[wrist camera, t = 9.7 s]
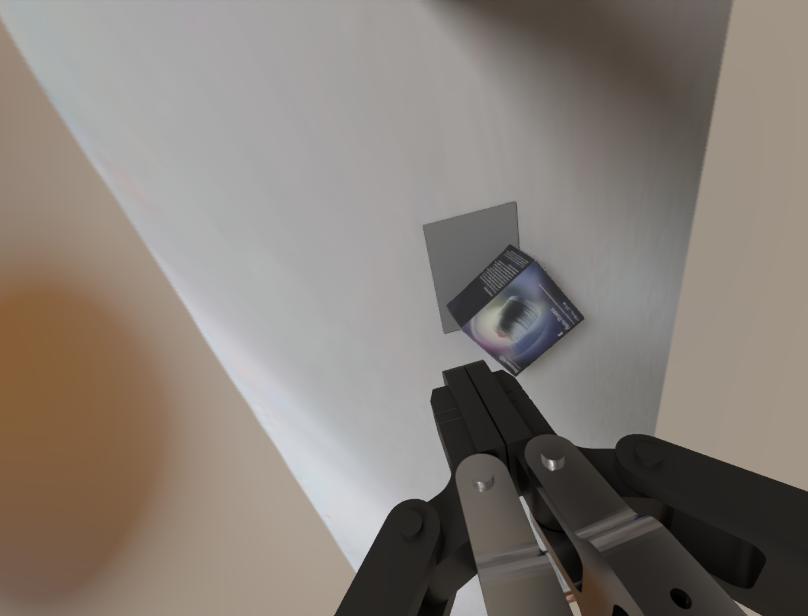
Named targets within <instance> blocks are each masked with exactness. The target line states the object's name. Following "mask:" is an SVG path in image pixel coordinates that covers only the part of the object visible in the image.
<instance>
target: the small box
mask: <svg viewBox="0 0 808 616" xmlns="http://www.w3.org/2000/svg"><path fill="white" fill-rule="evenodd" d="M446 308H447V309H448V311H449V312H450V314H451V315H452V317H453V318H454V319H455V321H456V322H457V324H458V325H459V327H460V328H461V330H462V331H463V332H464V333H466V334H467V335H468V336H469V337H470V338H471V339H472V340H474V341H475V342H476V343H477V344H478V345H479V346H480V347H482V348H483V349H484V350H485V351H486V352H487V353H488V354H490V355H491V356H492V357H493V358H494V359H495V360H496V361H498V362H499V363H500V364H501V365H502V366H503V367H505V368H506V369H507V370H508V371H509V372H510V373H511V374H512V375H514V376H515V377H516V376H517V375H518V374H519V373H521V372H522V371H523V370H524V369H525V368H526V367H528V366H529V365H530V364H531V363H532V362H534V361H535V360H536V359H537V358H538V357H539V356H541V355H542V354H543V353H544V352H545V351H547V350H548V349H549V348H550V347H551V346H552V345H554V344H555V343H556V342H557V341H558V340H560V339H561V338H562V337H563V336H564V335H565V334H567V333H568V332H569V331H570V330H571V329H573V328H574V327H575V326H576V325H577V324H579V323H580V322H581V321H582V320H583V319H585V318H584V316H583V315H582V314H581V313H580V312H579V311H578V309H577V308H576V307H575V306H574V305H573V304H572V303H571V301H570V300H569V299H568V298H567V297H566V295H565V294H564V293H563V292H562V291H561V290H560V288H559V287H558V286H557V285H556V284H555V282H554V281H553V280H552V279H551V278H550V277H549V275H548V274H547V273H546V272H545V271H544V270H543V268H542V267H541V266H540V265H539V264H538V262H537V261H536V260H535V259H533V258H531V257H530V256H528V255H527V254H525V253H524V252H522V251H520V250H519V249H517V248H516V247H514V246H513V245H511V244H509V245H508V246H507V247H506V249H505V250H504V251H503V252H502V253H501V254H500V255H499V256H498V257H497V258H496V259H495V260H493V261H492V262H491V263H490V264H489V266H488V267H486V268H485V269H484V270H483V271H482V272H481V273H480V274H479V275H478V276H477V277H476V278H475V279H474V280H473V281H472V282H471V283H470V284H469V285H468V286H467V287H466V288H465V289H463V291H462V292H460V293H459V294H458V295H457V296H456V297H455V298H454V299H453V300H452V301H450V302H449V303H448V304H447V305H446Z"/></svg>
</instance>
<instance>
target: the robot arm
mask: <svg viewBox="0 0 808 616" xmlns="http://www.w3.org/2000/svg"><path fill="white" fill-rule="evenodd" d="M442 374H443V379H444V384H445V386H443V387H440V388H436V389H433V391H432V396H431V401H430V402H431V406H432V410H433V414H434V418H435V422H436V426H437V430H438V434H439V437H440V440H441V443H442V446H443V449H444V452H445V455H446V459H447V462H448V465H449V468H450V471H451V478H450V480H449V483H448V484H447V486H446V487H445V489H444V490H443V491H442V492H441V493H439V494H438V495H437V496H435V497H434V498H433V499H431V500H430V501H428V502H426V501H424V500H420V499H409V500H405V501H403V502H401V503H399V504H398V505H396V506H395V507H394V508H393V509H392V510H391V512H390V513H389V515H388V516H387V518H386V520H385V522H384V524H383V526H382V527H381V529H380V531H379V533H378V535H377V537H376V539H375V540H374V542H373V544H372V546H371V548H370V550H369V552H368V554H367V555H366V557H365V559H364V561H363V563H362V565H361V567H360V568H359V570H358V572H357V574H356V576H355V578H354V580H353V582H352V584H351V586H350V587H349V589H348V591H347V593H346V595H345V596H344V598H343V600H342V602H341V604H340V606H339V608H338V609H337V612H336V613H335V615H334V616H450V613H451V609H452V606H453V603H454V600H455V597H456V593H457V591H458V590H459V589H460V588H461V587H462V586H464V585H465V584H466V583H467V582H468V581H469V580H471V579H472V578H473V577H474V576H475V575H476V574H478V577H479V581H480V585H481V590H482V594H483V598H484V602H485V606H486V610H487V614H488V616H574V615H573V613H572V611H571V608H570V606H569V603H568V601H567V599H566V596H565V594H564V592H563V589H562V587H561V584H560V582H559V580H558V577H557V575H556V573H555V570H554V568H553V566H552V564H551V562H550V560H549V558H548V556H547V555H546V553H545V552H543V551H542V550H541V549H540V547H539V545H538V543H537V540H536V538H535V535H534V533H533V531H532V528H531V526H530V523H529V521H528V518H527V516H526V513H525V511H524V508H523V506H522V504H521V501H520V499H519V497H520V496H523V497H524V499H525V501H526V503H527V505H528V507H529V513H530V519H531V522H532V524H533V526H534V528H535V530H536V531H537V533H538V535H539V536H540V538H541V540H542V542H543V543H544V545H545V547H546V549H547V550H548V552H549V554H550V555H551V557H552V559H553V561H554V562H555V564H556V566H557V568H558V569H559V571H560V573H561V574H562V576H563V578H564V580H565V581H566V583H567V585H568V586H569V588H570V590H571V592H572V593H573V595H574V597H575V599H576V601H577V604H578V606H579V609H580V612H581V615H582V616H747V615H746V614H745V613H744V611H743V610H742V609H741V608H740V607H739V606H738V605H737V604H736V603H735V602H734V601H733V600H735V601H737V602H738V603H740V604H742V605H744V606H746V607H747V608H749V609H751V610H753V611H755V612H756V613H759V614H760V615H762V616H808V492H807V491H805V490H802V489H799V488H796V487H793V486H790V485H788V484H785V483H782V482H779V481H776V480H774V479H771V478H768V477H765V476H762V475H759V474H757V473H754V472H751V471H748V470H745V469H743V468H740V467H737V466H734V465H731V464H729V463H726V462H723V461H720V460H717V459H715V458H711V457H709V456H706V455H703V454H701V453H698V452H695V451H692V450H689V449H686V448H683V447H681V446H678V445H675V444H672V443H669V442H667V441H664V440H661V439H658V438H655V437H652V436H649V435H643V434H632V435H627V436H625V437H623V438H621V439H620V440H619V441H618V443H617V444H616V448H615V449H591V448H582V447H578V446H575V445H574V444H573V443H571V442H570V441H569V440H567V439H565V438H563V437H560V436H558V435H557V434H556V433H555V432H554V431H553V429H552V428H551V426H550V425H549V424H548V422H547V421H546V420H545V418H544V417H543V415H542V414H541V413H540V411H539V410H538V409H537V407H536V406H535V405H534V403H533V402H532V400H531V399H529V396H528V395H527V394H526V392H525V391H524V390H523V389H522V387H521V385H520V384H519V383H518V381H517V380H516V379H515V377H513V376H512V375H510V374H508V373H507V372H505V371H503V370H499V371H496V372H491V370H490V369H489V367H488V366H487V364H486V363H485V361H484V360H480V361H477V362H473V363H470V364H466V365H463V366H459V367H456V368H452V369H449V370H445V371H442ZM732 599H733V600H732Z"/></svg>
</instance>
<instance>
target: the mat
mask: <svg viewBox="0 0 808 616" xmlns="http://www.w3.org/2000/svg"><path fill="white" fill-rule="evenodd" d="M423 230H424V235H425V240H426V245H427V250H428V255H429V260H430V265H431V270H432V275H433V280H434V286H435V291H436V296H437V301H438V306H439V311H440V316H441V321H442V326H443V331H444V334H445V333H449V332H453V331H456V330H460V329H461V328H460V327H459V325H458V324H457V322H456V321H455V319H454V318H453V317H452V315H451V314H450V312H449V311H448V309H447V308H446V305H447V304H448V303H449V302H450V301H452V300H453V299H454V298H455V297H456V296H457V295H458V294H459V293H460V292H462V291H463V289H465V288H466V287H467V286H468V285H469V284H470V283H471V282H472V281H473V280H474V279H475V278H476V277H477V276H478V275H479V274H480V273H481V272H482V271H483V270H484V269H485V268H486V267H488V266H489V264H490V263H491V262H492V261H493V260H495V259H496V258H497V257H498V256H499V255H500V254H501V253H502V252H503V251H504V250H505V249H506V247H507V246H508V245H509V244H511V245H513V246H514V247H516V248H517V249H519V244H518V229H517V214H516V202H515V201H514V202H510V203H506V204H503V205H499V206H495V207H491V208H487V209H483V210H480V211H476V212H472V213H468V214H464V215H461V216H457V217H453V218H449V219H445V220H442V221H438V222H434V223H430V224H426V225H423Z"/></svg>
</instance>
